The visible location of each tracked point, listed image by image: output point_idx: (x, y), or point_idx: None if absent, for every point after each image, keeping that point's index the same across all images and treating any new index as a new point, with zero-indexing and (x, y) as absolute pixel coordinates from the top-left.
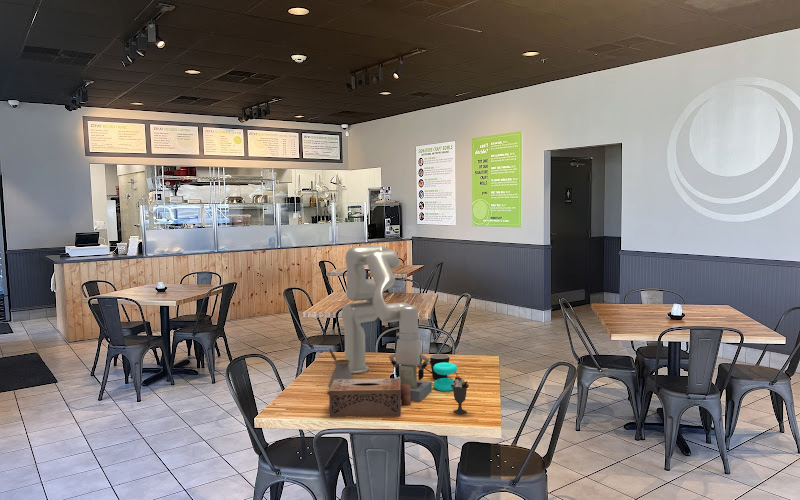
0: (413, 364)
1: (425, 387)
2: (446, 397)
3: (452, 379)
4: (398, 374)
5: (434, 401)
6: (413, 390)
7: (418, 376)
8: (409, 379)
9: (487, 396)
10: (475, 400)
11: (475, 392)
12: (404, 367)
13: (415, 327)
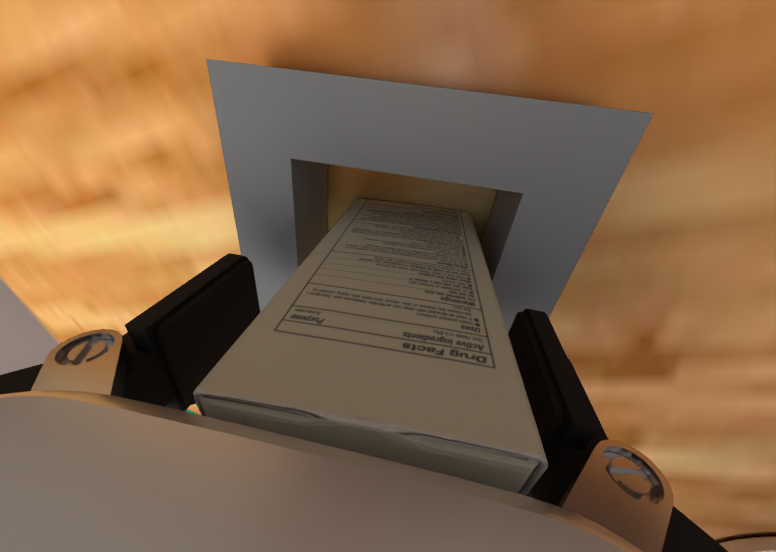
0: (60, 418)
1: (242, 238)
2: (161, 220)
3: (196, 404)
4: (518, 348)
5: (176, 113)
6: (285, 85)
7: (225, 278)
8: (356, 259)
9: (16, 269)
10: (4, 196)
11: (98, 316)
12: (401, 403)
13: None
